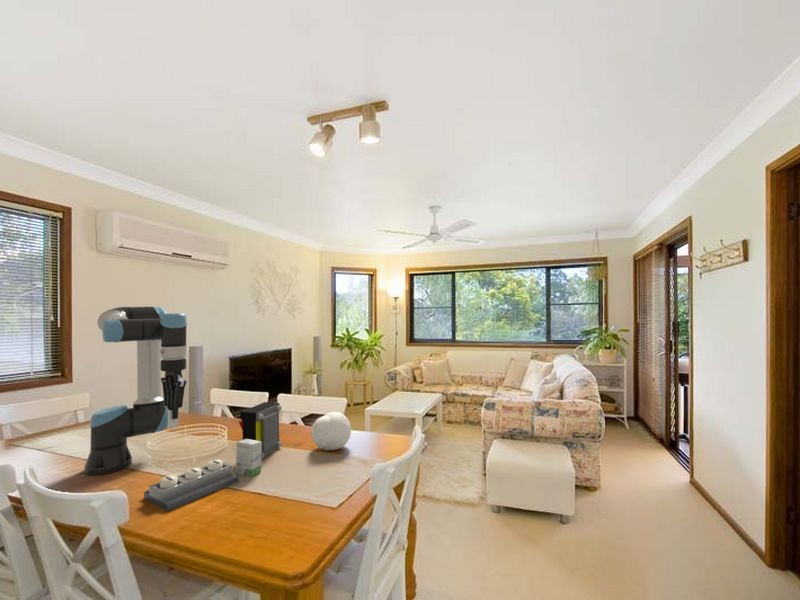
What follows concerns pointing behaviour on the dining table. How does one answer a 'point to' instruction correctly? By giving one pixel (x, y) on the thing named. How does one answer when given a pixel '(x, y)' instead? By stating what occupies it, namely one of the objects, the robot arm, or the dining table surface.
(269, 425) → the electrical component
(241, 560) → the dining table surface
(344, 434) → the decorative orb
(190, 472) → the knob mid
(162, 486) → the knob near
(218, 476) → the mount
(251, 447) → the ink box
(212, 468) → the knob far
